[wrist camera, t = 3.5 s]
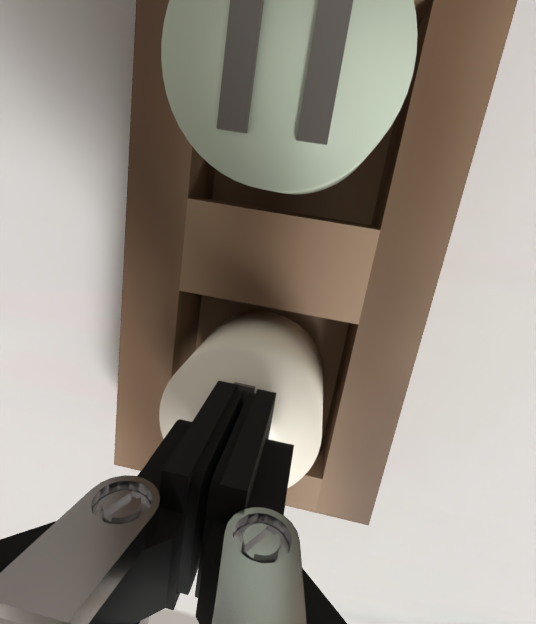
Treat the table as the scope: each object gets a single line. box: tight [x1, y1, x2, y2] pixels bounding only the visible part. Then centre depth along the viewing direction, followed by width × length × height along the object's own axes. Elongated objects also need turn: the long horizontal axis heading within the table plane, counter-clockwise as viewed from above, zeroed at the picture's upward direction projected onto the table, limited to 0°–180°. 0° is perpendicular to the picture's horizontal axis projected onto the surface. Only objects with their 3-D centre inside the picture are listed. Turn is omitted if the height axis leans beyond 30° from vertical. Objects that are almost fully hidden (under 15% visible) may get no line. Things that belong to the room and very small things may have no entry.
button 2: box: [161, 0, 418, 195], centre depth 9 cm, size 5×5×4 cm
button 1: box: [159, 311, 324, 488], centre depth 13 cm, size 5×5×4 cm
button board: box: [114, 0, 517, 525], centre depth 13 cm, size 10×27×3 cm, turn 171°
